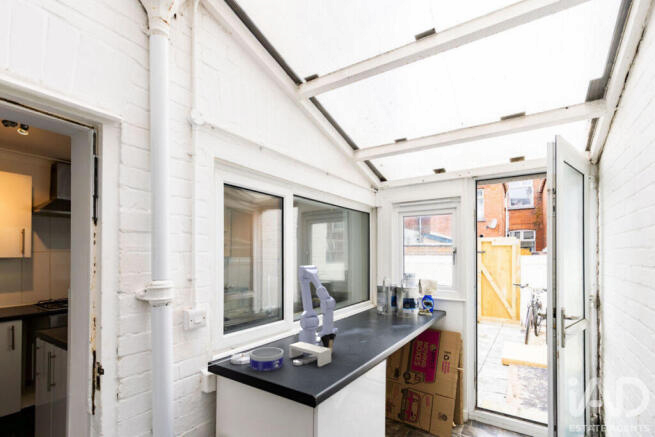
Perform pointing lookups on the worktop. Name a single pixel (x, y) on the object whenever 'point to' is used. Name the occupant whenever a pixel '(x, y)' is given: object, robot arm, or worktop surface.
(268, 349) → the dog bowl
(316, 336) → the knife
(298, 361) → the token
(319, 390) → the worktop surface
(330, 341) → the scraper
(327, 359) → the small white bench
